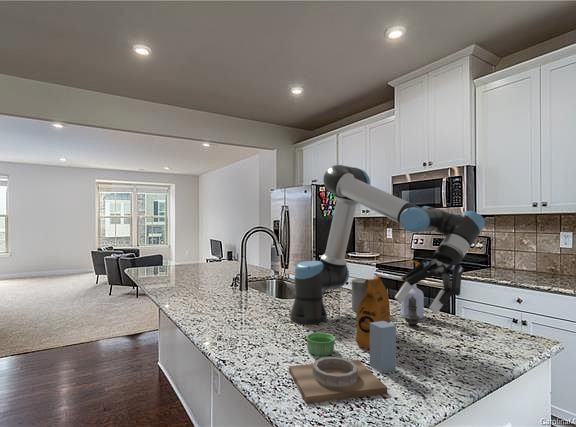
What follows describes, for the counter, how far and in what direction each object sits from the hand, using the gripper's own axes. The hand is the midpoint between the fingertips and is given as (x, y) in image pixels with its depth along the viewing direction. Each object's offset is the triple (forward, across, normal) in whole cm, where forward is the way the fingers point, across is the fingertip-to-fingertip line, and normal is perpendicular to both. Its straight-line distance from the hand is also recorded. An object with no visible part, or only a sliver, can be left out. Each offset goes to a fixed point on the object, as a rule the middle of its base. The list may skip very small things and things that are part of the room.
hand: (414, 305), depth 97 cm
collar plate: (+31, -2, +8) cm, 32 cm away
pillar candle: (-2, +52, -25) cm, 58 cm away
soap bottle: (-12, +36, -35) cm, 52 cm away
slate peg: (+19, 0, -4) cm, 20 cm away
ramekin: (+27, +18, +4) cm, 32 cm away
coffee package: (+13, +16, -10) cm, 23 cm away
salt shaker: (-5, +26, -28) cm, 39 cm away
